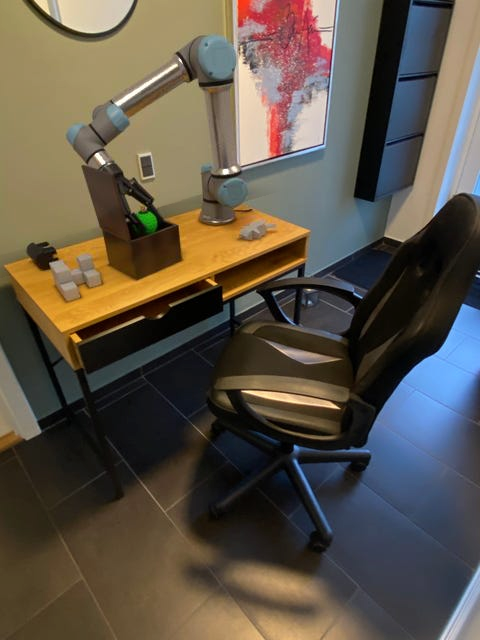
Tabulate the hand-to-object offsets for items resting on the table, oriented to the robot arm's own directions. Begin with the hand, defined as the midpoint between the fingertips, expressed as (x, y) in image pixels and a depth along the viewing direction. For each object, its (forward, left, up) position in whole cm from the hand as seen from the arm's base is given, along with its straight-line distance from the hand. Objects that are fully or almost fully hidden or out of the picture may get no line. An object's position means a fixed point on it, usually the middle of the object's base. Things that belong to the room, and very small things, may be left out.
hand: (153, 226), depth 130 cm
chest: (+3, -3, -13) cm, 14 cm away
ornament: (+1, -3, -4) cm, 5 cm away
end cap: (+27, -28, -13) cm, 41 cm away
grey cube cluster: (+27, -4, -13) cm, 30 cm away
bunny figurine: (-41, +10, -13) cm, 44 cm away
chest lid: (+13, -3, +10) cm, 17 cm away
